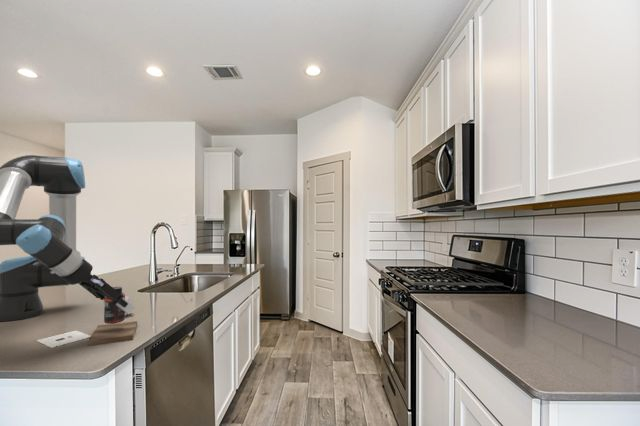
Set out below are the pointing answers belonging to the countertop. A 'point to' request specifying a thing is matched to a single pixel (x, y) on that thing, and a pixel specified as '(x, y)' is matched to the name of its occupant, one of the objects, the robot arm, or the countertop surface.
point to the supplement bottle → (113, 310)
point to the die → (128, 301)
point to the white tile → (63, 339)
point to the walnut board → (113, 333)
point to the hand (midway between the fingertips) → (125, 309)
